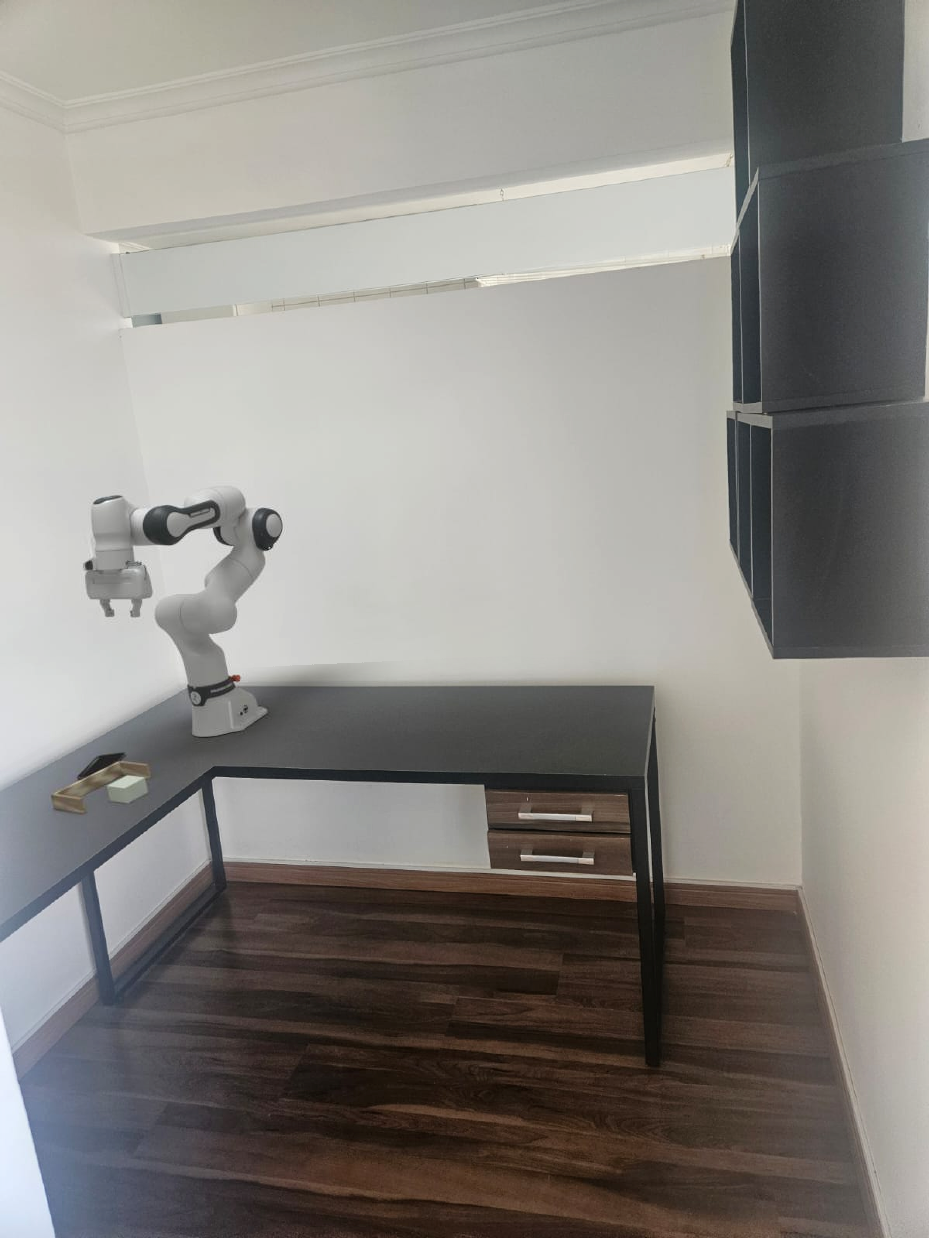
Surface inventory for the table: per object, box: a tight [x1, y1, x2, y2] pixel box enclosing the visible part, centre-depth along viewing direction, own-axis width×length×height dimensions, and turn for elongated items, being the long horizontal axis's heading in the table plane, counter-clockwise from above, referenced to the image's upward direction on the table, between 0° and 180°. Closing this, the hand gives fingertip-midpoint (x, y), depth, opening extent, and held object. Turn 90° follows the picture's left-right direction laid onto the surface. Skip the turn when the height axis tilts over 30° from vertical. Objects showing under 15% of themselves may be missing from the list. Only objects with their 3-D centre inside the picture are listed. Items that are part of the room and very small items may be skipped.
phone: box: [76, 751, 126, 781], centre depth 226 cm, size 8×1×15 cm
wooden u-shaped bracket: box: [50, 760, 152, 814], centre depth 208 cm, size 20×10×4 cm, turn 152°
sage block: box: [106, 775, 149, 804], centre depth 203 cm, size 6×6×4 cm
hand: (122, 617), depth 216 cm, fingers open, 8 cm apart
